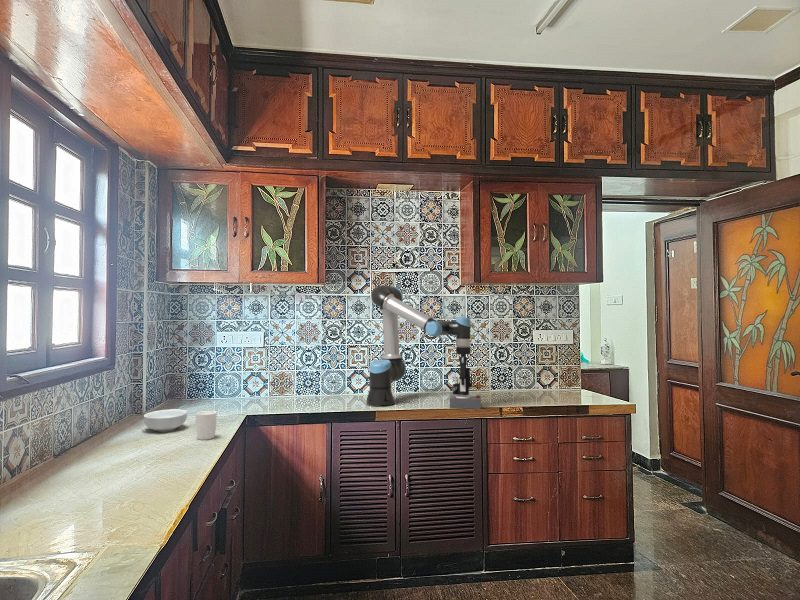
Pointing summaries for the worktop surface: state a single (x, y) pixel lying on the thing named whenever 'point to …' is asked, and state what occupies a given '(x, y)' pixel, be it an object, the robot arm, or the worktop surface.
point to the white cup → (206, 424)
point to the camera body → (465, 402)
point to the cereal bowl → (165, 419)
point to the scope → (457, 385)
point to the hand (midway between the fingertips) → (463, 389)
